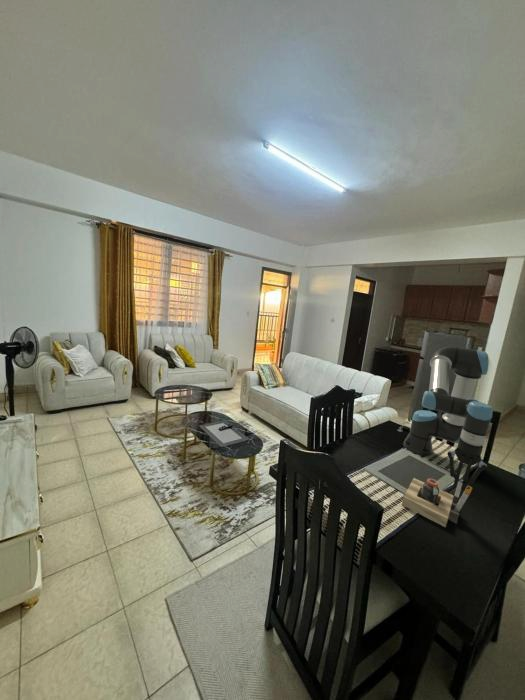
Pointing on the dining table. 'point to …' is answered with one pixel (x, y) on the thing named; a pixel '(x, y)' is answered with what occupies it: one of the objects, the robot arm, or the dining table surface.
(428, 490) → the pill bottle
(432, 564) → the dining table surface
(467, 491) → the ring bar
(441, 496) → the block
